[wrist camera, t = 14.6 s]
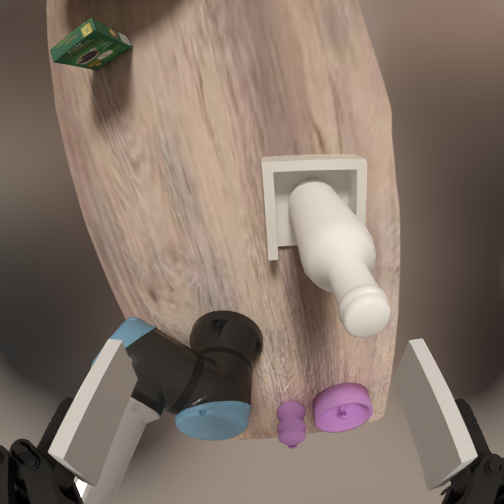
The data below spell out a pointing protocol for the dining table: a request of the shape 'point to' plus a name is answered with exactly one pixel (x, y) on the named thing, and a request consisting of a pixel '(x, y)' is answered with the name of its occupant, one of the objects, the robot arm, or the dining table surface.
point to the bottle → (338, 256)
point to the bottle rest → (302, 168)
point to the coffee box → (90, 46)
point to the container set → (326, 412)
